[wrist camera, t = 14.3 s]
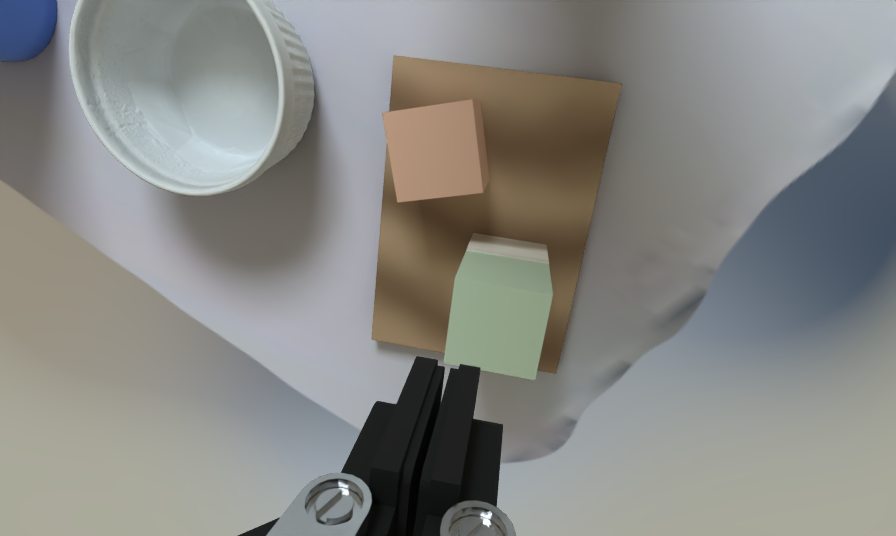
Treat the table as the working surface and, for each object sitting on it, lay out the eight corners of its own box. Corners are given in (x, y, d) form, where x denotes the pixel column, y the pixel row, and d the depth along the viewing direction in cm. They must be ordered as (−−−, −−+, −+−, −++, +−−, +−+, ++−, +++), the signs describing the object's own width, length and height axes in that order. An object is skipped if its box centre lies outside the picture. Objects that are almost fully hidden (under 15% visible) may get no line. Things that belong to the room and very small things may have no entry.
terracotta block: (403, 111, 32) (382, 112, 27) (480, 99, 31) (472, 99, 26) (415, 188, 33) (397, 202, 28) (489, 179, 32) (483, 192, 27)
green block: (466, 250, 30) (454, 277, 25) (548, 263, 29) (552, 294, 25) (455, 324, 31) (443, 363, 27) (533, 338, 31) (535, 380, 26)
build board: (398, 57, 32) (375, 48, 27) (618, 84, 30) (636, 80, 25) (376, 332, 38) (354, 365, 34) (555, 365, 37) (559, 405, 32)
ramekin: (354, 160, 34) (314, 174, 28) (194, 196, 37) (123, 216, 31) (297, -51, 31) (235, -92, 24) (124, 7, 34) (26, -16, 27)
